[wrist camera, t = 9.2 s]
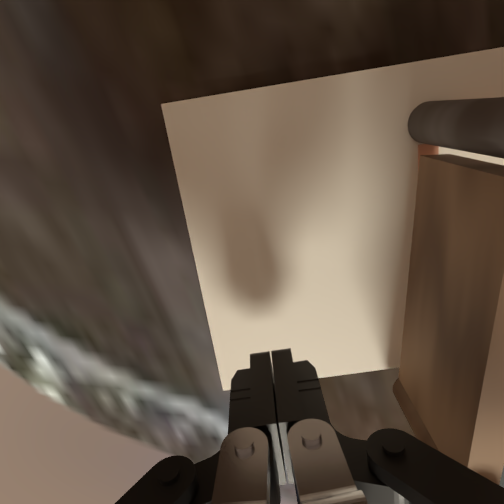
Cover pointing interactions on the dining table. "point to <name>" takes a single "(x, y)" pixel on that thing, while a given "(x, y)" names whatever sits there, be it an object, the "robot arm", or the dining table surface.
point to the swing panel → (456, 313)
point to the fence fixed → (461, 125)
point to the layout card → (313, 207)
